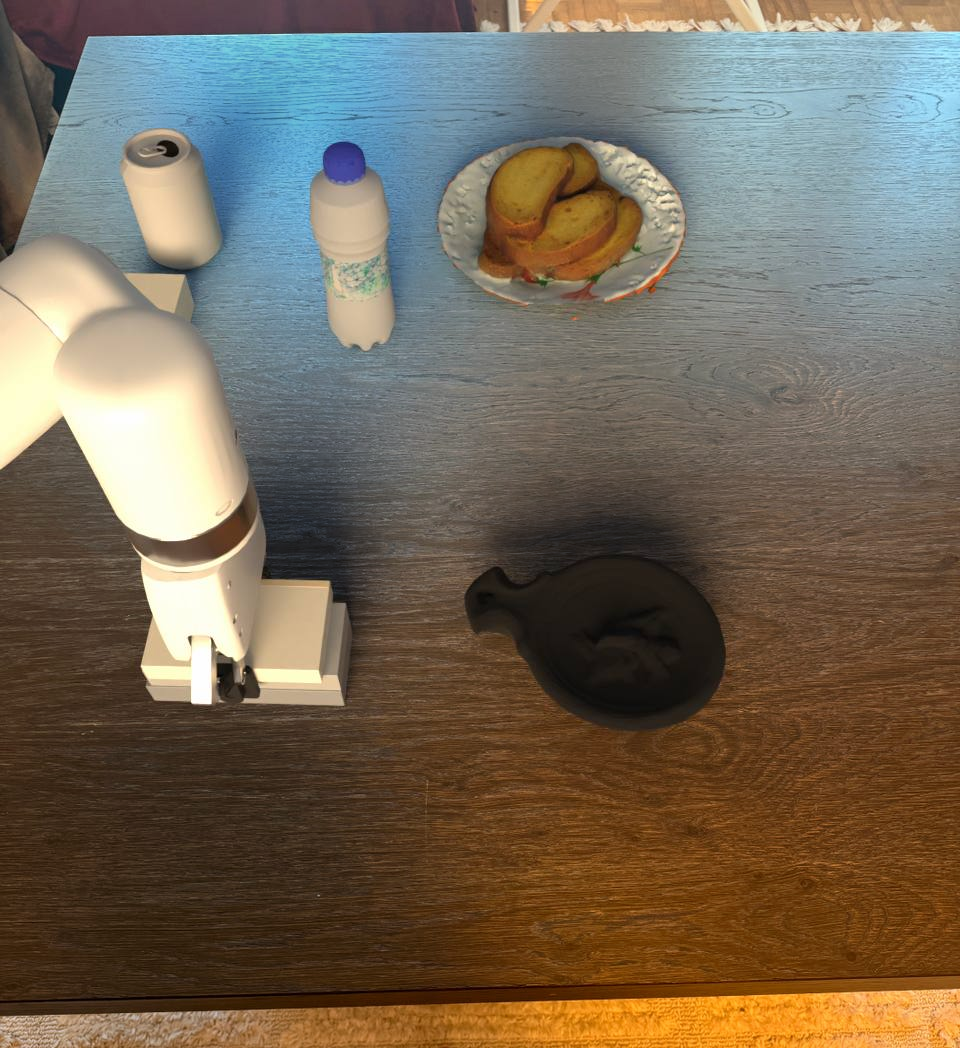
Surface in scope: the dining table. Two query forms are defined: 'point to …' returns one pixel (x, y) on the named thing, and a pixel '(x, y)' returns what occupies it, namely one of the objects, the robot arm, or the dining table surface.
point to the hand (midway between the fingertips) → (246, 643)
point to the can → (171, 198)
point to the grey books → (288, 692)
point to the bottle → (353, 246)
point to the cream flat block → (267, 636)
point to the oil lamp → (609, 638)
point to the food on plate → (562, 222)
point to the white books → (165, 292)
